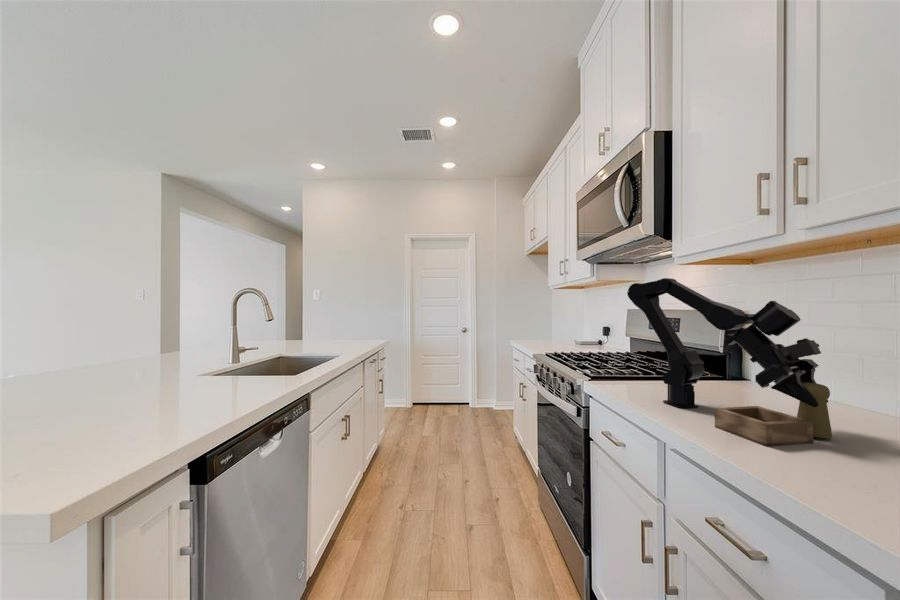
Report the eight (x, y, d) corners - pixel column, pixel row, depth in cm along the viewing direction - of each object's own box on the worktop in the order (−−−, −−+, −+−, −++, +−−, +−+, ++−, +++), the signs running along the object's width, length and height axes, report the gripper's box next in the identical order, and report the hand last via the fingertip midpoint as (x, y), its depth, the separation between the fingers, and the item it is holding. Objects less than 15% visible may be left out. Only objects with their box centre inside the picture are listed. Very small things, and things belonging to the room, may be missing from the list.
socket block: (714, 427, 87) (714, 408, 87) (756, 424, 90) (756, 405, 90) (766, 446, 76) (766, 424, 76) (813, 442, 78) (813, 421, 78)
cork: (820, 439, 78) (820, 387, 78) (787, 429, 84) (788, 381, 84) (839, 436, 80) (840, 385, 80) (806, 427, 85) (806, 379, 85)
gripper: (773, 328, 80) (844, 389, 71) (807, 325, 90) (874, 379, 80) (731, 358, 87) (790, 418, 78) (766, 353, 96) (824, 406, 87)
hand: (821, 404), depth 80 cm, fingers closed on cork, 5 cm apart
